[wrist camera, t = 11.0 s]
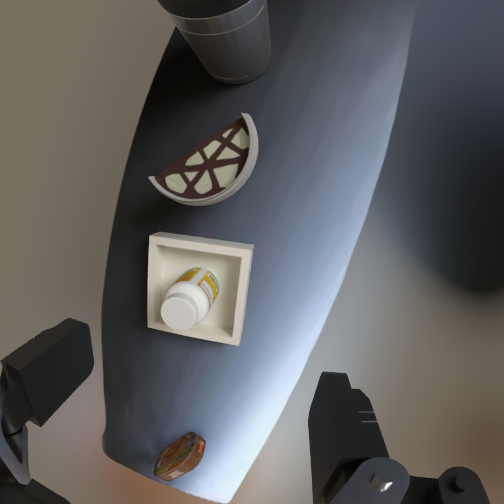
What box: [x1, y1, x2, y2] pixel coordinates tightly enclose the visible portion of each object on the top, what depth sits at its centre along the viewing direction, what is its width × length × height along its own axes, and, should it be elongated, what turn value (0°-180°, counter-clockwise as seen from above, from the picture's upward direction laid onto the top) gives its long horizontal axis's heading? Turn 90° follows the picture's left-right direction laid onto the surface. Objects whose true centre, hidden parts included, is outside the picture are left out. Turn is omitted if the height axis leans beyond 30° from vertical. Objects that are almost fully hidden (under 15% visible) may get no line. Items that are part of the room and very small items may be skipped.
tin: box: [154, 432, 206, 481], centre depth 44 cm, size 15×3×8 cm, turn 138°
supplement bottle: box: [161, 267, 219, 331], centre depth 35 cm, size 5×5×10 cm
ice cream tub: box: [148, 113, 258, 206], centre depth 32 cm, size 12×6×10 cm, turn 122°
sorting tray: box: [148, 232, 254, 346], centre depth 39 cm, size 13×13×4 cm
